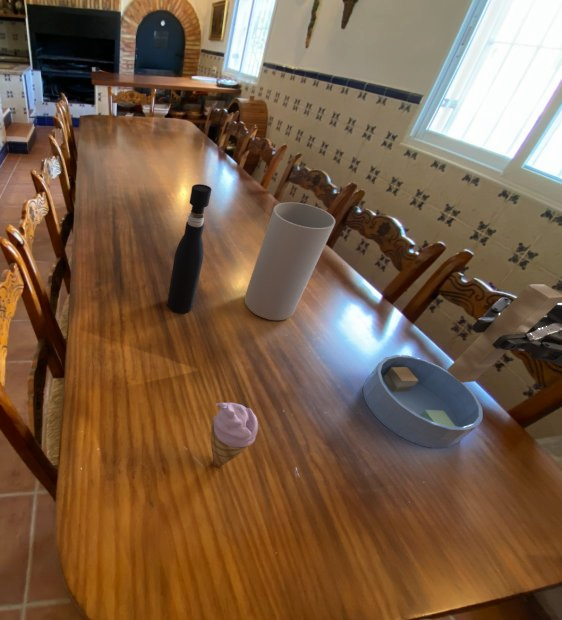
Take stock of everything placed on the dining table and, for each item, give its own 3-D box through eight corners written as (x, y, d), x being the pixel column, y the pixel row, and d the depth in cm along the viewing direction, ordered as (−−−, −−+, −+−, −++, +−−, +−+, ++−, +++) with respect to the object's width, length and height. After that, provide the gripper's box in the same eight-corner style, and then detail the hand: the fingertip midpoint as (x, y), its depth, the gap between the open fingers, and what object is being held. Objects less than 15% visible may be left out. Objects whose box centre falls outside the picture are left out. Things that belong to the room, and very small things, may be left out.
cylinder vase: (266, 286, 98) (299, 198, 82) (303, 312, 90) (347, 221, 74) (233, 299, 93) (261, 208, 76) (270, 328, 85) (309, 234, 69)
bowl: (482, 450, 64) (507, 432, 60) (390, 446, 63) (409, 427, 59) (425, 376, 76) (442, 357, 72) (348, 372, 76) (361, 352, 72)
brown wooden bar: (474, 381, 59) (565, 296, 47) (460, 383, 59) (548, 297, 47) (460, 368, 61) (544, 284, 50) (446, 370, 61) (528, 284, 49)
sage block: (444, 438, 64) (457, 427, 62) (425, 438, 64) (437, 427, 62) (432, 421, 67) (443, 410, 65) (414, 420, 67) (425, 410, 65)
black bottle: (188, 316, 86) (214, 196, 67) (163, 309, 88) (181, 190, 68) (195, 301, 91) (221, 185, 71) (171, 294, 92) (190, 179, 73)
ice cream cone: (191, 447, 60) (209, 393, 51) (224, 438, 62) (247, 384, 52) (209, 486, 56) (232, 434, 46) (244, 475, 57) (273, 423, 48)
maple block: (408, 391, 72) (418, 380, 70) (393, 391, 72) (402, 380, 70) (397, 377, 75) (407, 366, 73) (382, 378, 74) (391, 367, 72)
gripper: (606, 376, 53) (513, 387, 50) (516, 314, 63) (434, 321, 61) (657, 341, 48) (557, 351, 45) (550, 280, 59) (463, 285, 56)
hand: (487, 334), depth 53 cm, fingers closed on brown wooden bar, 3 cm apart
